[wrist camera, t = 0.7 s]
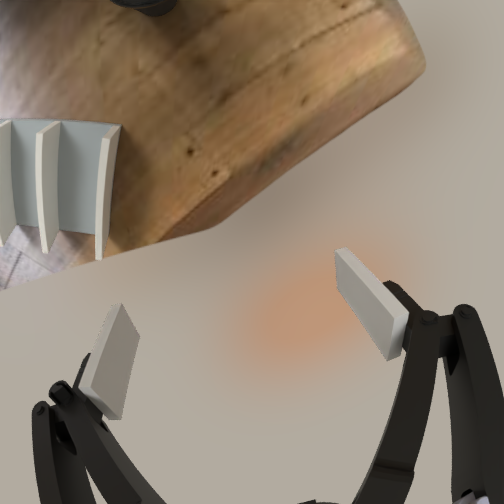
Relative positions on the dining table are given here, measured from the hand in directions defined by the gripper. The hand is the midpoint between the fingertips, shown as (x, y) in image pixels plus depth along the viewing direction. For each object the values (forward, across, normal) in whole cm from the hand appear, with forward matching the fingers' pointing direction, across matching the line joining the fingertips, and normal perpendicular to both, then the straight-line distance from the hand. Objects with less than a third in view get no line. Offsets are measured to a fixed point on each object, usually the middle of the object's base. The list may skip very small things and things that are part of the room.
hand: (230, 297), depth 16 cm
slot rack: (+24, -27, +13) cm, 38 cm away
